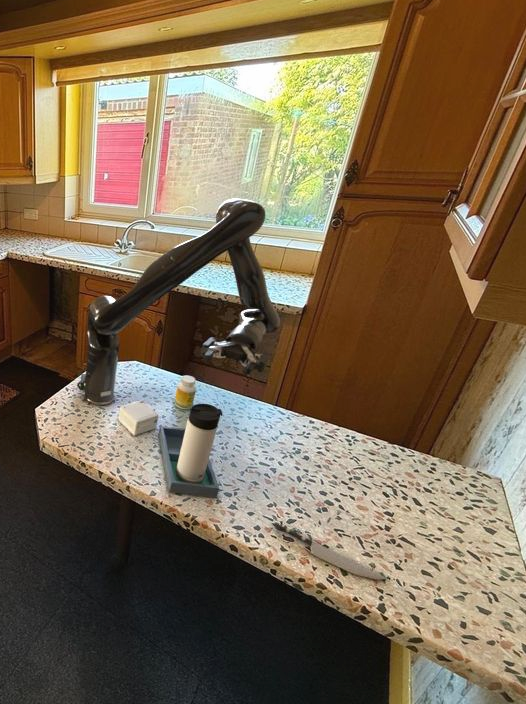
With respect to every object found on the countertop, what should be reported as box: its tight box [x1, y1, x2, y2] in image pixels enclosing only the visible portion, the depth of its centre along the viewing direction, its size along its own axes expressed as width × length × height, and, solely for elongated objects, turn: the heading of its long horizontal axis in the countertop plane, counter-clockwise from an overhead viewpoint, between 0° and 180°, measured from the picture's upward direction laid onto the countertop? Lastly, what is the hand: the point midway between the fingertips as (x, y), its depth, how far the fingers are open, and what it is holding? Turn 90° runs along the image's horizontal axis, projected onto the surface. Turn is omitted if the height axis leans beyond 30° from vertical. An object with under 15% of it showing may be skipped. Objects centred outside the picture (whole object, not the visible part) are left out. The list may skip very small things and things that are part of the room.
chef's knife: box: [273, 523, 388, 580], centre depth 79 cm, size 19×1×3 cm
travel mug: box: [176, 403, 223, 484], centre depth 93 cm, size 6×7×20 cm
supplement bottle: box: [173, 374, 197, 410], centre depth 121 cm, size 5×5×10 cm
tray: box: [157, 425, 220, 499], centre depth 101 cm, size 11×20×3 cm, turn 171°
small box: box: [118, 400, 159, 436], centre depth 114 cm, size 8×8×5 cm
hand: (226, 365), depth 93 cm, fingers open, 8 cm apart
